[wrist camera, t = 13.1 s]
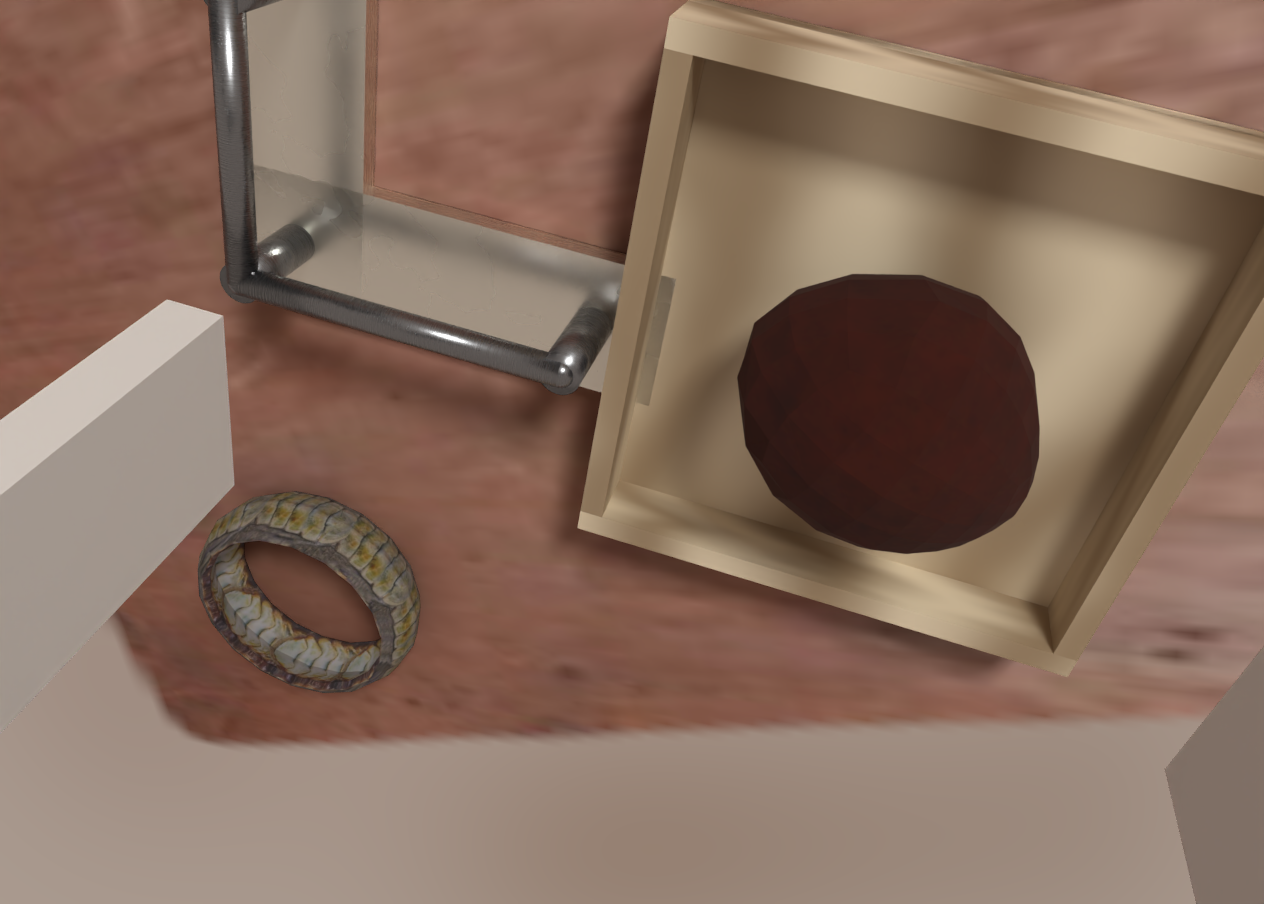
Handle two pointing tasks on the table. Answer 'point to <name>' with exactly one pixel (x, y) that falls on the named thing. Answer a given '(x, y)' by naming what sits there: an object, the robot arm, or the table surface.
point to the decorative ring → (344, 549)
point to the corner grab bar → (382, 212)
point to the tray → (947, 252)
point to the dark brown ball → (891, 411)
